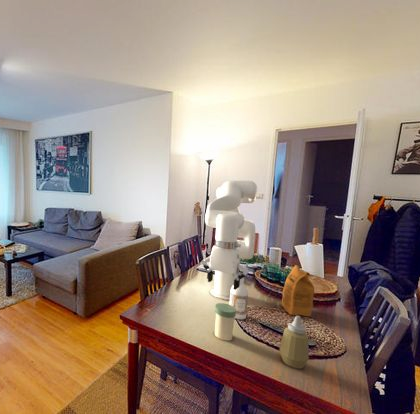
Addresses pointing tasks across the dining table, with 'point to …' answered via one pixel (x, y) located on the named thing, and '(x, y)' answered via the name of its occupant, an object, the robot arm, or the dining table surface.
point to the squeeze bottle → (295, 344)
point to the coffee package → (298, 293)
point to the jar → (224, 327)
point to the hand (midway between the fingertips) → (222, 284)
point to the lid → (225, 310)
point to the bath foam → (239, 300)
